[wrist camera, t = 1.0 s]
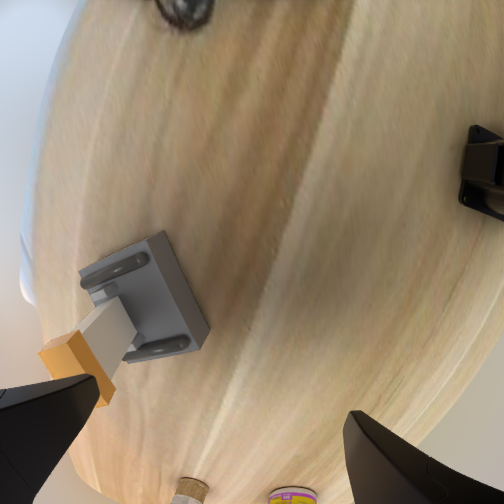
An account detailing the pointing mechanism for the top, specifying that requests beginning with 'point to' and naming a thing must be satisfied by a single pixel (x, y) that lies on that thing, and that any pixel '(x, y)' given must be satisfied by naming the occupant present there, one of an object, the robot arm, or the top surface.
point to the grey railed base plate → (149, 298)
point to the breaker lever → (93, 347)
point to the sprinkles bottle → (190, 492)
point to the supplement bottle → (292, 496)
